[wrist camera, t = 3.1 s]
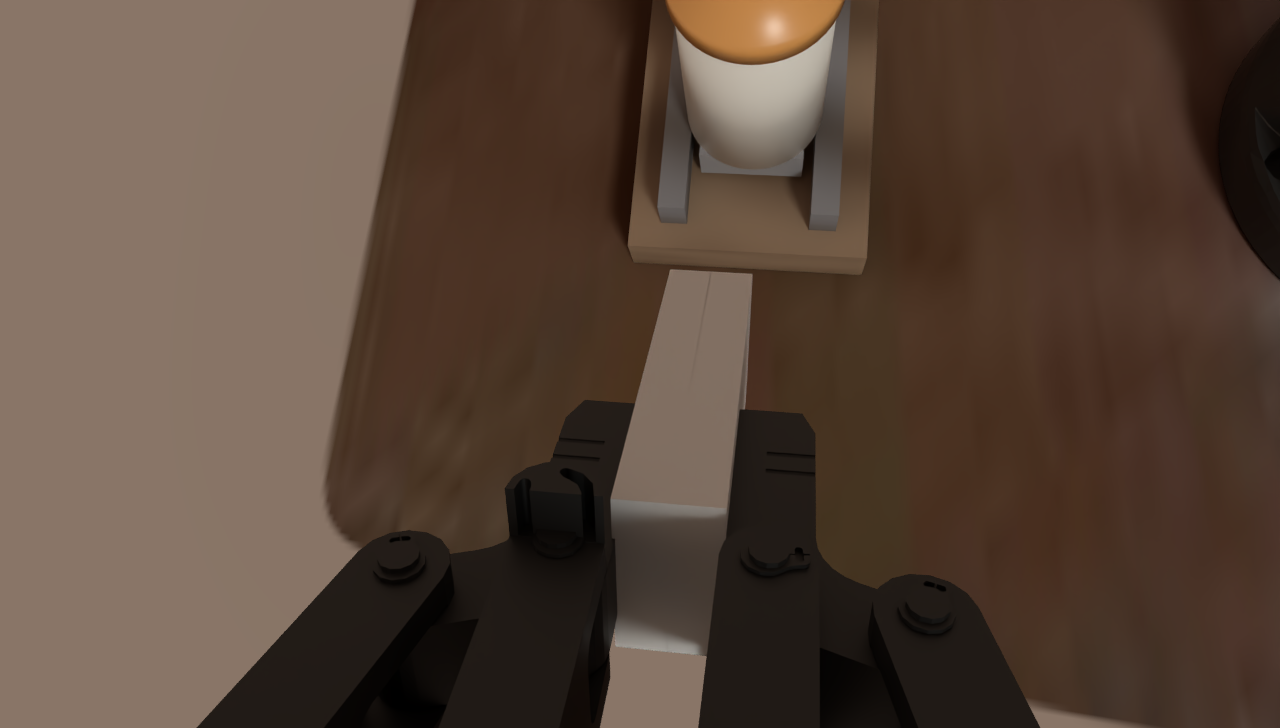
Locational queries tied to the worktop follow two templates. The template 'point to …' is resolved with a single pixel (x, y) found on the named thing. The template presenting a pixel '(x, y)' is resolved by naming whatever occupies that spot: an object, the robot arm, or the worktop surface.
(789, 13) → the knob
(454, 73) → the worktop surface
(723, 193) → the knob mount
